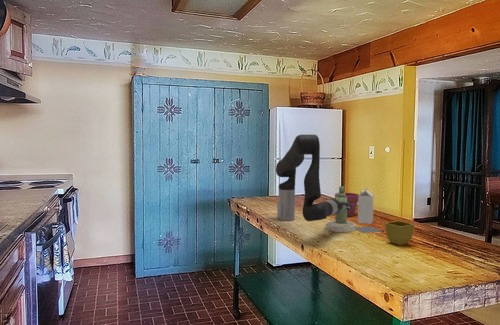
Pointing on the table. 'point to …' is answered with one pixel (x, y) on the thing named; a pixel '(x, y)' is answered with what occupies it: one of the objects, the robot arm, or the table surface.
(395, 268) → the table surface
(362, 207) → the milk carton
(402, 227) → the flower pot
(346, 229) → the bowl
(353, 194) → the plant pot
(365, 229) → the mat
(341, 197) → the olive bottle
